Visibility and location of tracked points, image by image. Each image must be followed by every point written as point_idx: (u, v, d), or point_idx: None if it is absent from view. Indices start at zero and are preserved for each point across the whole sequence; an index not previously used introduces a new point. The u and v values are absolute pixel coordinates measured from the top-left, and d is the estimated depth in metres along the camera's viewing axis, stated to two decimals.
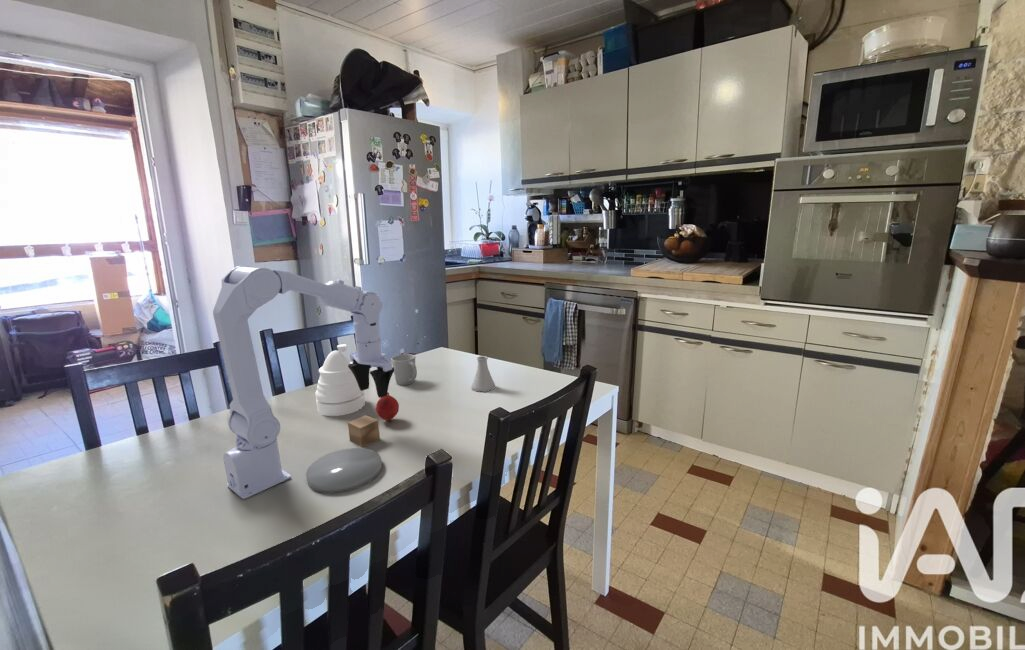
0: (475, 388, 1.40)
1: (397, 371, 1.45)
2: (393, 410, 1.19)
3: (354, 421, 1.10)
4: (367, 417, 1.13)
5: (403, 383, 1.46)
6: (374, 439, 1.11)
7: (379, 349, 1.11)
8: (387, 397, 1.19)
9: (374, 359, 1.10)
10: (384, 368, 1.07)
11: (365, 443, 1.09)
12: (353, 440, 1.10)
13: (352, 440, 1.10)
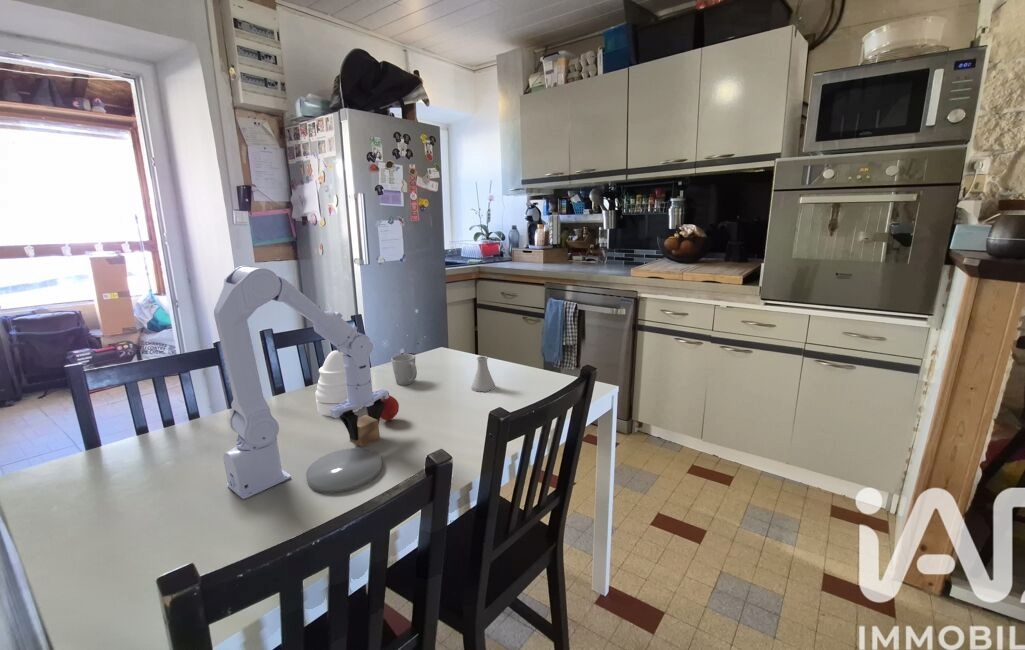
0: (475, 388, 1.40)
1: (397, 371, 1.45)
2: (393, 410, 1.19)
3: None
4: (367, 417, 1.12)
5: (403, 383, 1.46)
6: (374, 439, 1.11)
7: (352, 395, 1.06)
8: None
9: (348, 401, 1.07)
10: None
11: (365, 443, 1.09)
12: (353, 440, 1.10)
13: (352, 440, 1.10)
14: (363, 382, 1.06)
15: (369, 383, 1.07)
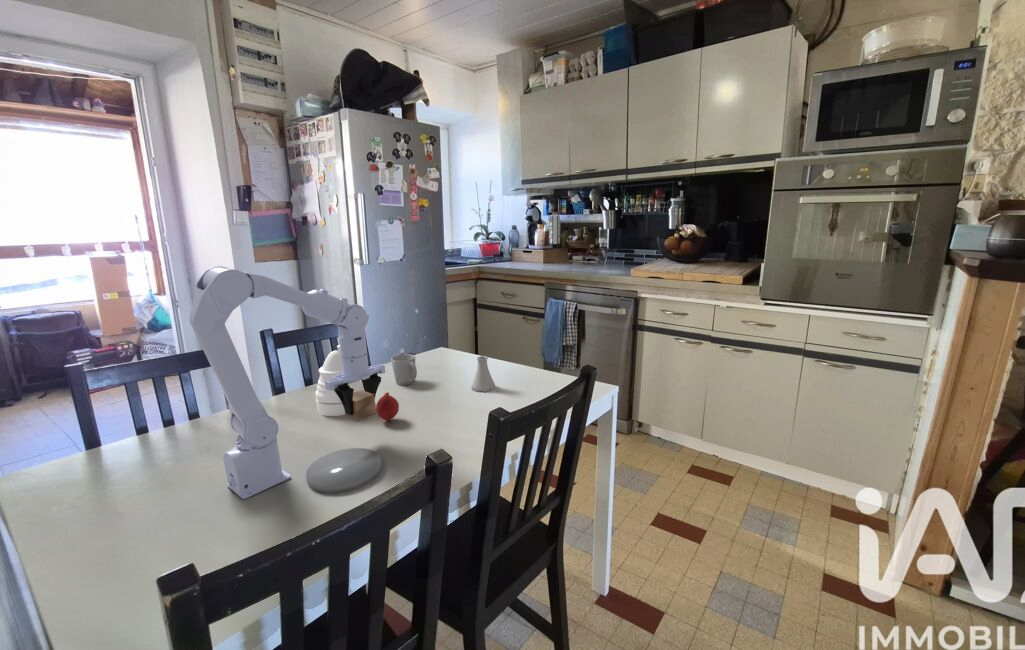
0: (475, 388, 1.40)
1: (397, 371, 1.45)
2: (393, 410, 1.19)
3: None
4: (363, 392, 1.10)
5: (403, 383, 1.46)
6: (370, 414, 1.08)
7: (348, 367, 1.03)
8: (387, 397, 1.19)
9: (343, 375, 1.05)
10: None
11: (361, 417, 1.06)
12: (348, 414, 1.07)
13: (347, 415, 1.08)
14: (358, 354, 1.03)
15: (365, 356, 1.05)
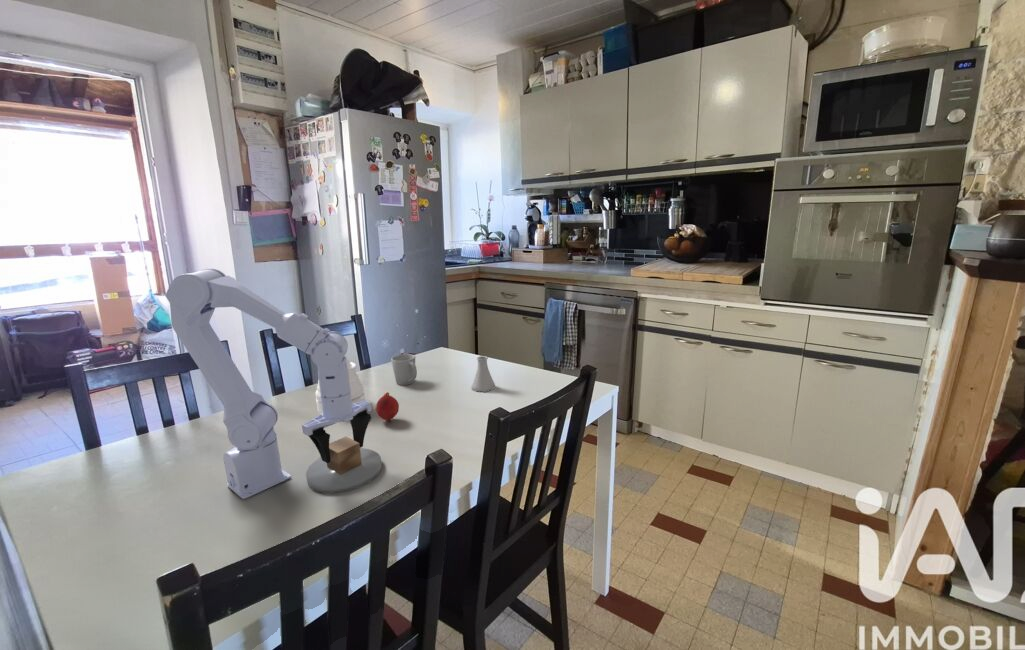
0: (475, 388, 1.40)
1: (397, 371, 1.45)
2: (393, 410, 1.19)
3: (332, 445, 0.96)
4: (347, 439, 0.98)
5: (403, 383, 1.46)
6: (355, 465, 0.96)
7: (328, 408, 0.91)
8: (387, 397, 1.19)
9: (323, 416, 0.93)
10: None
11: (344, 470, 0.95)
12: (331, 466, 0.96)
13: (330, 466, 0.96)
14: (330, 395, 0.91)
15: (348, 394, 0.93)
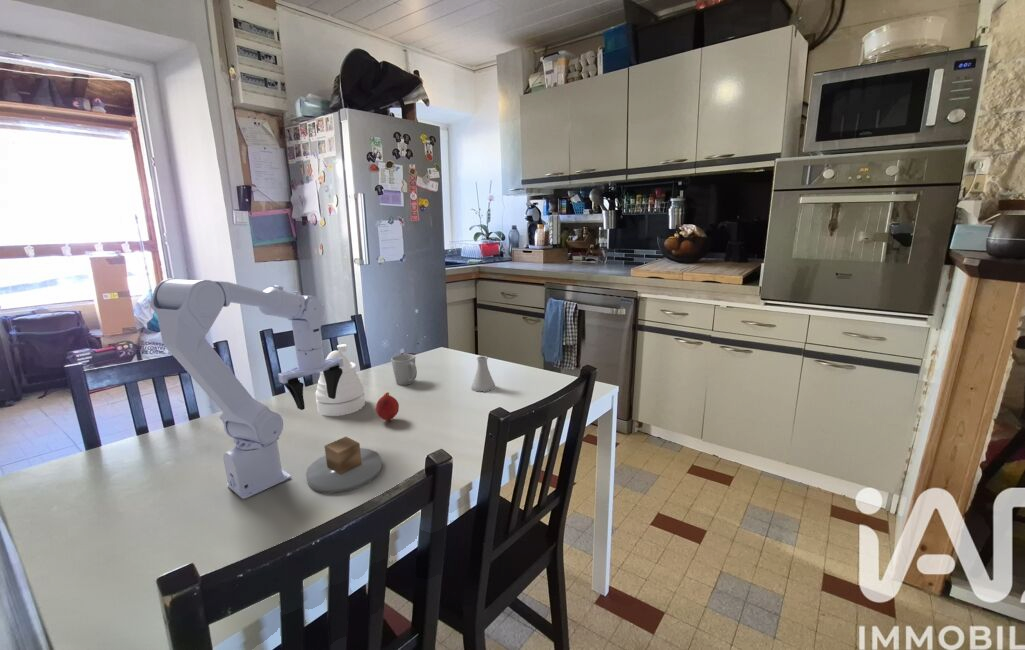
0: (475, 388, 1.40)
1: (397, 371, 1.45)
2: (393, 410, 1.19)
3: (332, 445, 0.96)
4: (347, 439, 0.98)
5: (403, 383, 1.46)
6: (355, 465, 0.96)
7: (302, 360, 1.02)
8: (387, 397, 1.19)
9: (298, 367, 1.04)
10: None
11: (344, 470, 0.95)
12: (331, 466, 0.96)
13: (330, 466, 0.96)
14: (317, 346, 1.03)
15: (320, 349, 1.04)
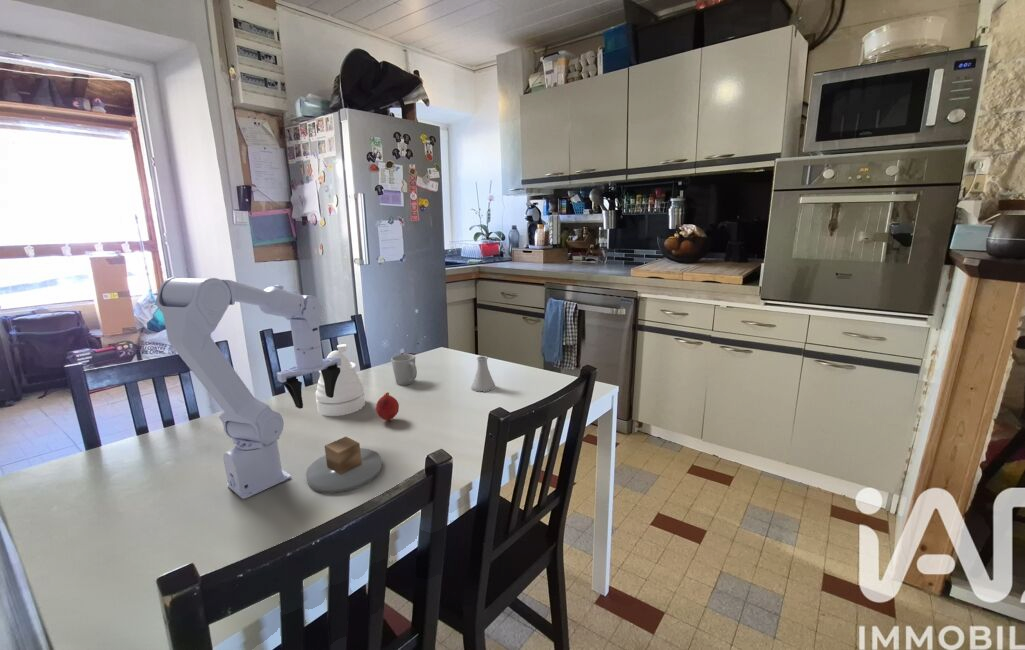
0: (475, 388, 1.40)
1: (397, 371, 1.45)
2: (393, 410, 1.19)
3: (332, 445, 0.96)
4: (347, 439, 0.98)
5: (403, 383, 1.46)
6: (355, 465, 0.96)
7: (300, 359, 1.03)
8: (387, 397, 1.19)
9: (296, 366, 1.05)
10: None
11: (344, 470, 0.95)
12: (331, 466, 0.96)
13: (330, 466, 0.96)
14: (316, 345, 1.04)
15: (318, 348, 1.05)
